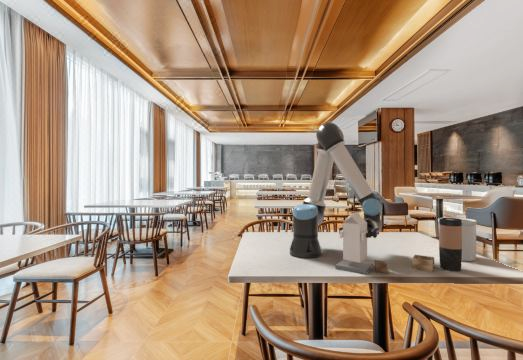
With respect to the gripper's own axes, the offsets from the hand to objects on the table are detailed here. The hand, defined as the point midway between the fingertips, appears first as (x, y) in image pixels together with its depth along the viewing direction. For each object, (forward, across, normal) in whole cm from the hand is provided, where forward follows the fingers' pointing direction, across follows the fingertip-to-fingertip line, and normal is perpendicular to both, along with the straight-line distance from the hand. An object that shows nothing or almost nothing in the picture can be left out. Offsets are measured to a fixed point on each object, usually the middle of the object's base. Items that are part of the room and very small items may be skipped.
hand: (351, 235), depth 113 cm
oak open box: (-20, -23, -14) cm, 33 cm away
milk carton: (-5, 0, -11) cm, 12 cm away
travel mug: (-25, -32, -14) cm, 43 cm away
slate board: (-5, 0, -14) cm, 15 cm away
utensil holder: (-47, -34, -14) cm, 59 cm away
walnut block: (-5, -10, -14) cm, 18 cm away
